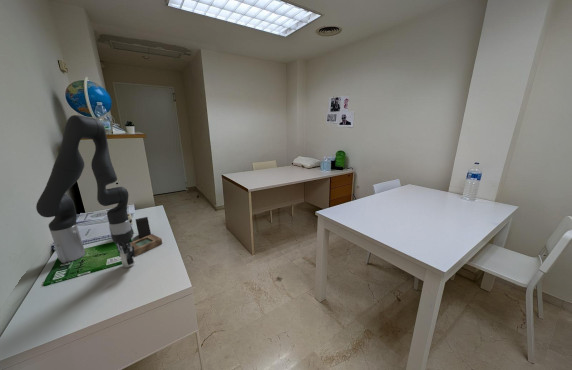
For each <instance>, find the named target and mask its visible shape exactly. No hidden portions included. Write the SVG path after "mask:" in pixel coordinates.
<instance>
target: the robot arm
mask: <svg viewBox="0 0 572 370" xmlns="http://www.w3.org/2000/svg"><path fill="white" fill-rule="evenodd" d="M66 120H67V121H66V123H65V127H64V132H63V136H62V141H61V145H60V148H59V151H58V154H57V157H56V159H55V161H54V164H53V166H52V170H51V172H50V176H49V177H48V181H47V183H46V186H45V188H44V189H43V192H42V193H41V195H40V196H39V198H38V199H37V202H36V206H35V208H36V209H35V210H36V212H37V214H39V215H40V216H41V217H43V218H53V217H54V218H53V219H52V220H51V221H50V222H49V224H48V228H49V232H50V234H51V238H52V241H53V243H52V244H53V246H54V250H55V252H56V256H57V259H58V260H59V261H60V262H61V263H62V264H65V263H69V262H73V261H76V260H79V259H81V258H82V257H84V256H85V255H86V251H85V247H84V244H83V240H82V237H81V234H80V230H79V227H78V224H77V219H78V215H77V211H76V205H75V203H74V202H75V201H73V199H72V198H71V196H70V195H68V194H67V192H68V191H69V190H70V189H71V188H72V187H73V186H74V185H75V184H76V183H77V181H78V180H79V179H80V177H81V176H82V174H83V171H84V169H85V161H84V159H83V157H82V155H81V153H80V150H79V145H80V142H81V140H82V139H87V140H92V141H93V143H94V145H95V146H94V147H95V149H94V154H93V157H92V160H91V164H90V165H91V170H92V173H93V175H94V177H95V178H94V179H95V181H96V189H97V190H96V191H97V192H96V193H97V195H96V200H97V202H98V203H99V205H101V206H103V207H109V206H112V205H116V204H117V205H116V206H115V207H113V208H110V209H108V210H107V211H106V216H107V220H108V227H109V232H110V237H111V240H112V242H113V243H115V246H116V249H117V252H118V253H120V249H122V252H123V254H125V256H126V259H127V264H128V265H130V264H132V263H133V258H135V257H136V256H135V253H134V246H132V247H131V242H132V241H130V240H132V238H133V235H134V234H132V230H131V227H132V225H130V222H129V219H128V214H129V213H128V202H129V191H128V189H127V188H125V187H124V186H116V187H112V188H107V187H106V186H108V185H110V184H115V183H116V182H117V181H118V176H117V174H116V171H115V169H114V166H113V163H112V161H111V157H110V156H111V154H110V151H109V143H108V137H107V132H106V128H105V125H104V123H103V122H102V121H101V120H100V119H97V118H95V117H88V116H85V115H84V116H82V115H80V114H79V115H78V114H77V115H76V114H73V115H71V116H69V117H68V119H66ZM125 251H126V252H125Z"/></svg>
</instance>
